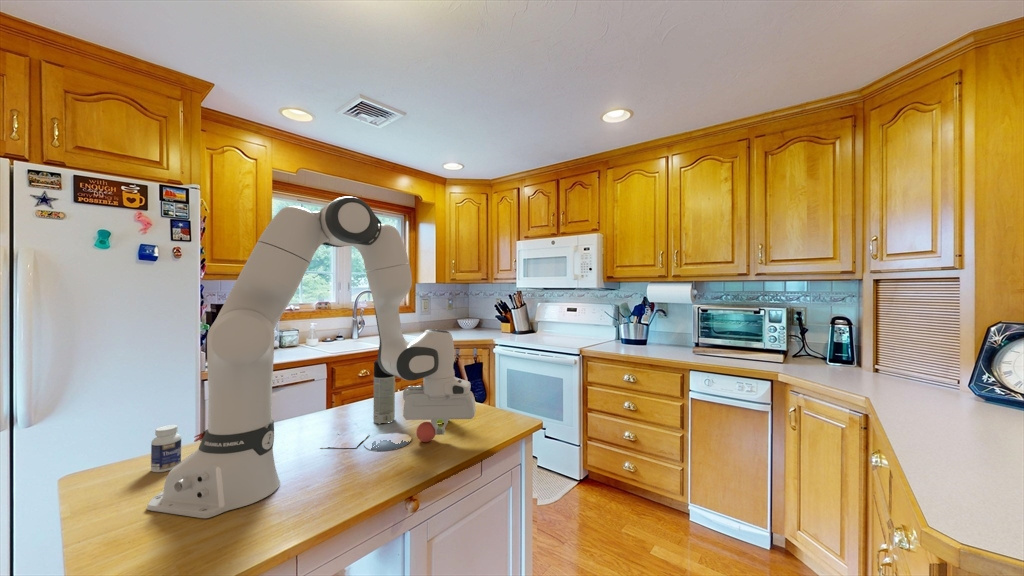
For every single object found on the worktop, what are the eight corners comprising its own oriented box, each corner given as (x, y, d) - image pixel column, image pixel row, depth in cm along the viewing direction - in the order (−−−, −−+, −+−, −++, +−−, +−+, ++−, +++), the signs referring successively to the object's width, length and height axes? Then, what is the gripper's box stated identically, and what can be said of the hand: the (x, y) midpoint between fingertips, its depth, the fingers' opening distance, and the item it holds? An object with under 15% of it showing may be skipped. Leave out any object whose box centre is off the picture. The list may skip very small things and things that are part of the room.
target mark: (355, 450, 103) (355, 450, 103) (373, 432, 116) (373, 432, 116) (404, 451, 102) (404, 450, 102) (416, 433, 115) (416, 432, 115)
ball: (430, 447, 106) (411, 441, 106) (434, 441, 112) (416, 435, 112) (436, 427, 107) (417, 422, 107) (439, 422, 112) (421, 417, 112)
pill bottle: (163, 474, 89) (163, 432, 89) (144, 472, 90) (145, 430, 90) (186, 464, 95) (187, 424, 95) (169, 462, 96) (169, 422, 96)
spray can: (397, 418, 129) (398, 358, 129) (389, 425, 122) (389, 362, 122) (378, 417, 130) (379, 358, 130) (369, 424, 123) (369, 361, 123)
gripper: (399, 389, 106) (400, 438, 106) (473, 388, 106) (474, 438, 106) (406, 383, 112) (407, 430, 112) (475, 382, 112) (476, 429, 112)
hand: (440, 434), depth 109 cm, fingers closed
